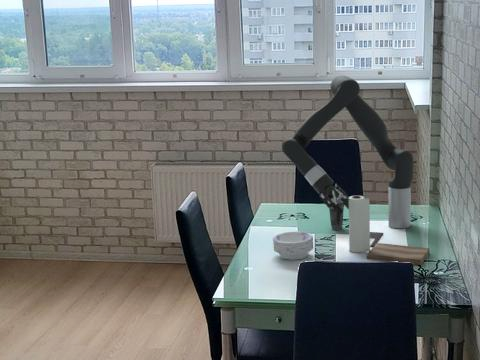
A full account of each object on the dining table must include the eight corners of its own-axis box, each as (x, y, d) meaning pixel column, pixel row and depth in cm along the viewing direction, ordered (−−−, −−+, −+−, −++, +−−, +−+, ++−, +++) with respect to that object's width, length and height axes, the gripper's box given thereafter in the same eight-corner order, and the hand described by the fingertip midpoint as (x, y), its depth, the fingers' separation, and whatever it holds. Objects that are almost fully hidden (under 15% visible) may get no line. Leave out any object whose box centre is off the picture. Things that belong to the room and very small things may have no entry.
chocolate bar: (383, 232, 292) (373, 245, 276) (383, 234, 292) (373, 248, 276) (361, 231, 296) (351, 244, 279) (361, 233, 296) (351, 246, 280)
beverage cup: (345, 225, 306) (344, 181, 302) (345, 230, 299) (345, 184, 295) (328, 226, 307) (327, 181, 303) (328, 231, 300) (327, 185, 296)
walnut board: (377, 247, 275) (377, 243, 274) (429, 253, 266) (429, 248, 265) (366, 259, 263) (366, 253, 262) (420, 265, 254) (420, 259, 253)
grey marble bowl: (267, 253, 274) (266, 234, 273) (303, 247, 280) (302, 228, 278) (283, 265, 261) (282, 244, 259) (320, 258, 266) (320, 238, 264)
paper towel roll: (346, 249, 274) (345, 196, 270) (359, 247, 277) (358, 194, 272) (356, 254, 268) (356, 200, 263) (369, 252, 270) (369, 198, 266)
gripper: (316, 177, 267) (345, 209, 264) (332, 169, 279) (360, 200, 275) (304, 189, 271) (332, 221, 268) (321, 181, 283) (348, 212, 279)
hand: (346, 210), depth 272 cm, fingers open, 8 cm apart
